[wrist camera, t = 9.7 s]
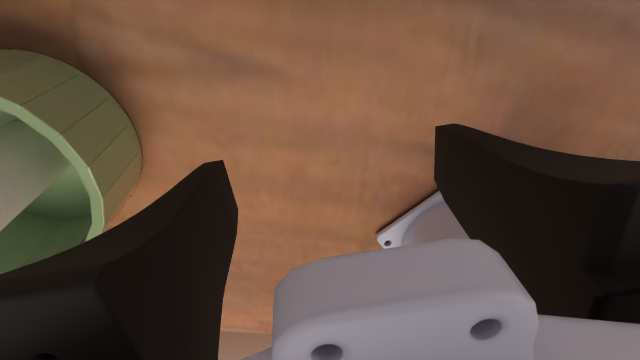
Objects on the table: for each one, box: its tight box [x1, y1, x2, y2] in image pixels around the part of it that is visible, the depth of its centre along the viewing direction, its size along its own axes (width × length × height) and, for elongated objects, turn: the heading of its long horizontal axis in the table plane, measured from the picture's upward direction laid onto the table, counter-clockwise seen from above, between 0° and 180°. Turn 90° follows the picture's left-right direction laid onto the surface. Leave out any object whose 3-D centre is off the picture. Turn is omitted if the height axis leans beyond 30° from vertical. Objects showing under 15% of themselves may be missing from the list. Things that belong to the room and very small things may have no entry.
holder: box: [0, 49, 142, 274], centre depth 19 cm, size 11×11×6 cm
